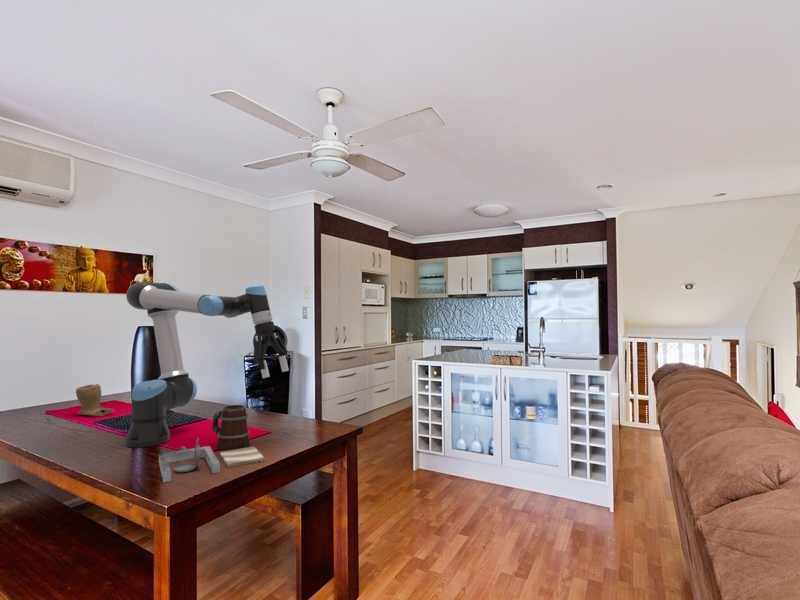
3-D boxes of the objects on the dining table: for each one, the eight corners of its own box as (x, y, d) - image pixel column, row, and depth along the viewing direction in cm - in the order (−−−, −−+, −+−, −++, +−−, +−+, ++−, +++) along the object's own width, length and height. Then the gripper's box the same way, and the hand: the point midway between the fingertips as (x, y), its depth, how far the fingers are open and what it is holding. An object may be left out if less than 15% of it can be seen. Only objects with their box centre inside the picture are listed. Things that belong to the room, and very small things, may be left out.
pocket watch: (169, 471, 138) (169, 440, 138) (192, 463, 145) (193, 433, 145) (185, 476, 134) (186, 444, 134) (208, 467, 141) (209, 437, 141)
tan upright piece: (69, 416, 206) (70, 385, 206) (95, 411, 217) (96, 381, 217) (89, 419, 200) (90, 387, 200) (114, 414, 210) (115, 383, 211)
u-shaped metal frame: (157, 457, 150) (157, 448, 150) (206, 449, 159) (206, 441, 159) (163, 482, 128) (163, 472, 128) (219, 472, 137) (219, 462, 137)
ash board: (219, 455, 153) (219, 451, 153) (253, 449, 159) (254, 446, 159) (227, 467, 141) (227, 463, 141) (264, 460, 148) (264, 457, 148)
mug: (255, 442, 168) (256, 404, 168) (236, 452, 156) (236, 411, 156) (222, 439, 172) (222, 402, 172) (200, 448, 160) (201, 408, 161)
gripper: (252, 322, 158) (265, 378, 156) (288, 318, 182) (300, 367, 180) (235, 327, 160) (248, 382, 159) (273, 323, 184) (285, 371, 182)
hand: (276, 374), depth 169 cm, fingers open, 13 cm apart
